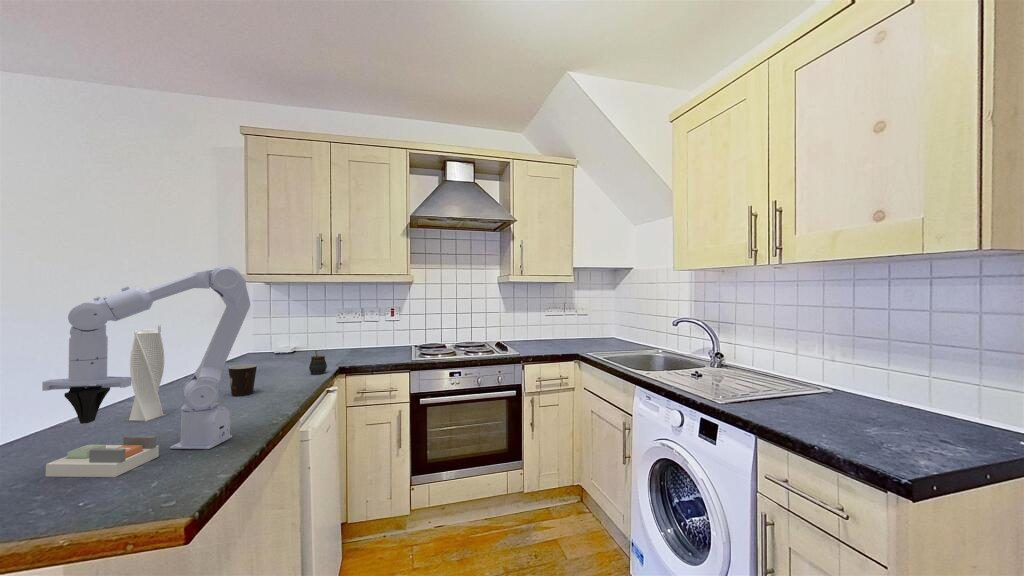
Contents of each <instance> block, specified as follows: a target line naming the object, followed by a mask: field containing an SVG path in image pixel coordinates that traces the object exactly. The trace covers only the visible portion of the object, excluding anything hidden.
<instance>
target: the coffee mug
mask: <svg viewBox="0 0 1024 576" xmlns="http://www.w3.org/2000/svg"><path fill="white" fill-rule="evenodd" d="M257 366H258V365H257V364H237V365H232V366H231V365H230V366H229V367H228V376H229V382H230V391H231V392H230V393H231V397H246V396H249V395H253V393H254V387H255V380H256V373H257V368H258V367H257Z"/></svg>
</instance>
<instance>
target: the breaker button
mask: <svg viewBox="0 0 1024 576" xmlns="http://www.w3.org/2000/svg"><path fill="white" fill-rule="evenodd" d="M115 449H125V459H126V458H128V457H131V456H133V455H135V454H137V453H140V452H142V445H123V446H120V447H118V448H115Z"/></svg>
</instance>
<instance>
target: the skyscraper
mask: <svg viewBox="0 0 1024 576" xmlns="http://www.w3.org/2000/svg"><path fill="white" fill-rule="evenodd" d="M161 332H162V324H160V323H159V324H157V330H156V329H155V328H145V329H144V328H143V329H141V331H139V330H138V329H135V330H134V338H133V341H132V346H131V351H130V359H129V373H130V377H131V386H132V389H133V393H134V399H133V403H132V407H131V410H130V411H131V412H130V415H129V418H127V419H124V421H125V422H126V421H127V422H146V423H147V422H149V421H153V420H156V419H158V418H162V417H165V416H169V413H164V412H163V408H162V404H161V400H160V396H159V393H158V392H159V389H160V386H161V384H162V379H163V376H164V375H163V374H164V368H165V349H164V343H163V340H162V339H163V338H162V335H161Z"/></svg>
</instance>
